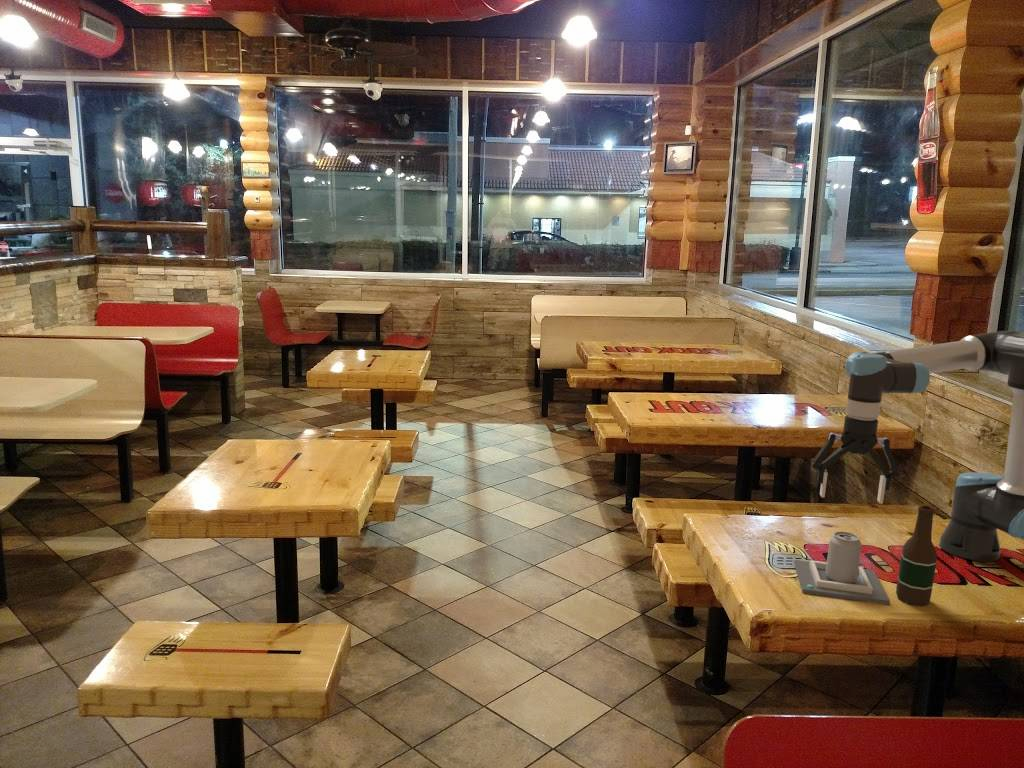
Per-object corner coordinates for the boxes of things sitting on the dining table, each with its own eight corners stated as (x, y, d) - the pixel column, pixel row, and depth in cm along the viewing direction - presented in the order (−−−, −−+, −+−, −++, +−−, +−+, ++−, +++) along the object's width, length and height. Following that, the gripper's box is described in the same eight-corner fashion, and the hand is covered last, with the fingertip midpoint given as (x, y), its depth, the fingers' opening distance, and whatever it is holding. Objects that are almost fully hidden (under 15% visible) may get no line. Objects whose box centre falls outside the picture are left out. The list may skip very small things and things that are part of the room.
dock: (873, 573, 206) (874, 564, 205) (889, 604, 188) (890, 595, 188) (793, 563, 210) (794, 554, 209) (802, 592, 193) (803, 583, 192)
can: (850, 574, 202) (857, 530, 200) (860, 587, 195) (867, 542, 193) (821, 571, 203) (827, 528, 201) (829, 584, 196) (836, 539, 193)
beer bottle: (888, 592, 195) (902, 501, 190) (917, 592, 196) (932, 501, 191) (906, 606, 188) (921, 513, 183) (936, 606, 188) (952, 513, 184)
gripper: (912, 417, 191) (900, 499, 196) (806, 408, 197) (796, 488, 201) (921, 425, 184) (908, 509, 189) (810, 415, 190) (800, 497, 194)
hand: (850, 498), depth 195 cm, fingers open, 13 cm apart
